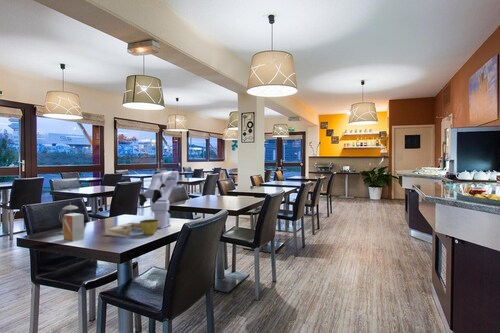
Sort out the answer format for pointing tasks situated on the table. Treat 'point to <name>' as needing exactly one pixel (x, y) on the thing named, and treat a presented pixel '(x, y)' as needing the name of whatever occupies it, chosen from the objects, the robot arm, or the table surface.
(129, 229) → the beige crumpled cloth
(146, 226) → the flower pot
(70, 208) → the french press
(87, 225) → the table surface
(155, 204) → the robot arm
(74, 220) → the small box
